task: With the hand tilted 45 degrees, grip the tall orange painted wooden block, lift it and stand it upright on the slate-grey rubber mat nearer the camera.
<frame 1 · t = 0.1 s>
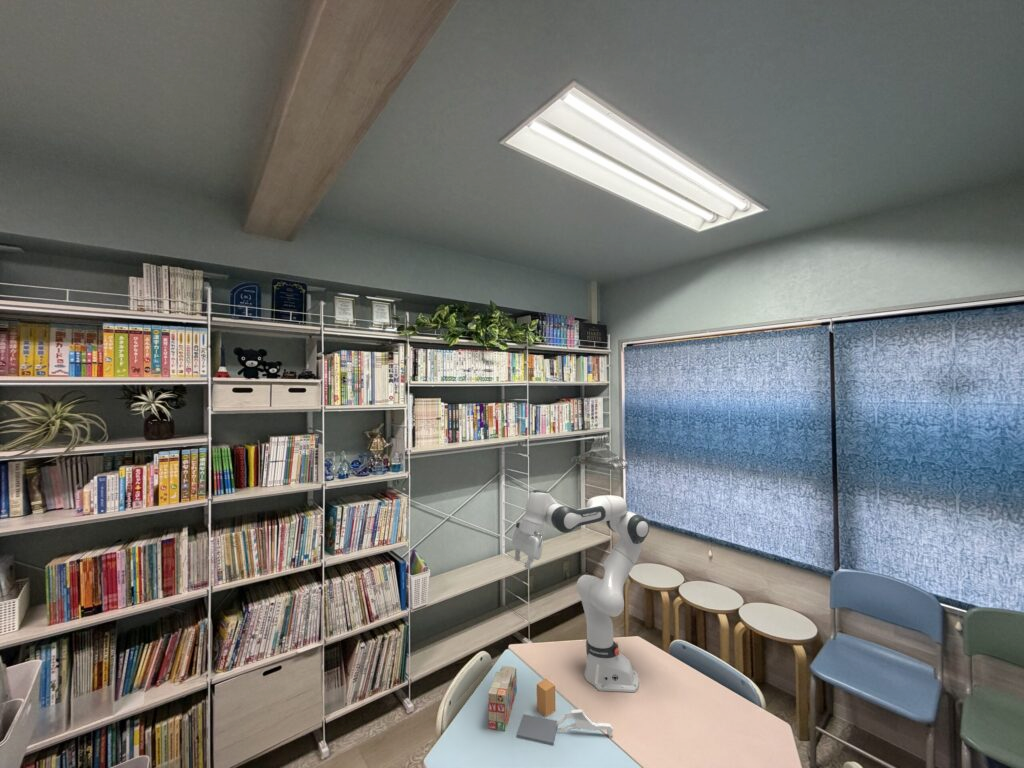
hand: (521, 564, 158), 52 cm above the table, tool tilted 20°, fingers open, 8 cm apart
slate mat: (537, 730, 139), on the table
stack of blocks: (503, 709, 150), on the table
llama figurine: (584, 734, 138), on the table
orange block: (546, 709, 149), on the table
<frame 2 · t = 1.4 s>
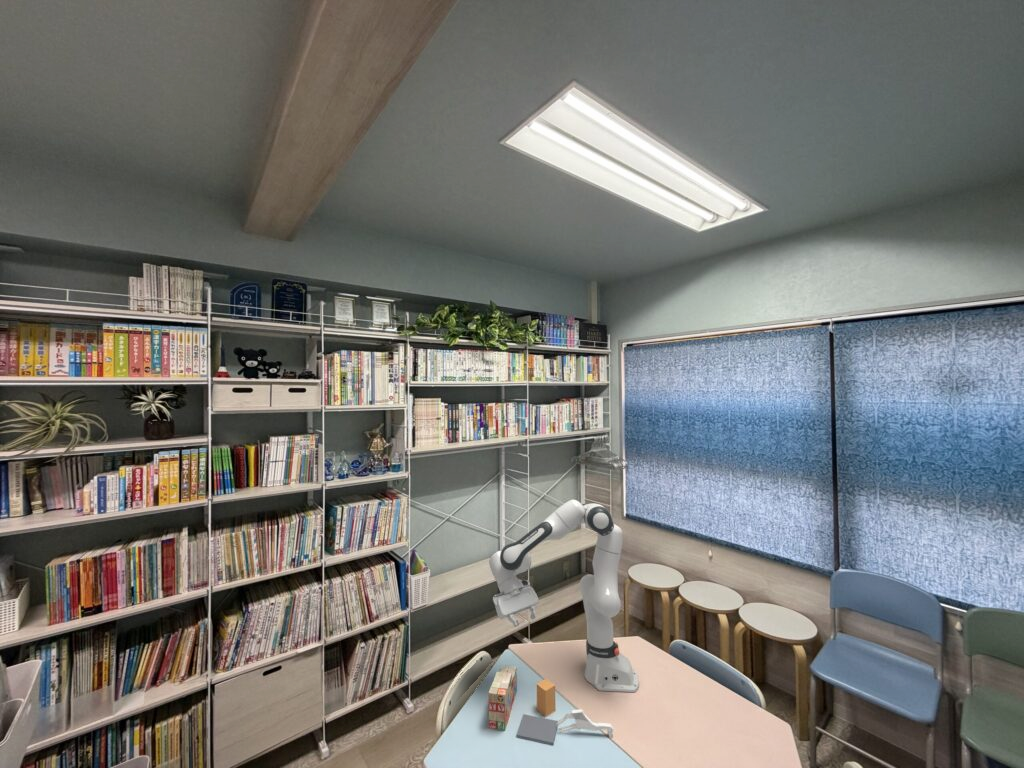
hand: (525, 622, 160), 27 cm above the table, tool tilted 45°, fingers open, 8 cm apart
nothing on the table moved.
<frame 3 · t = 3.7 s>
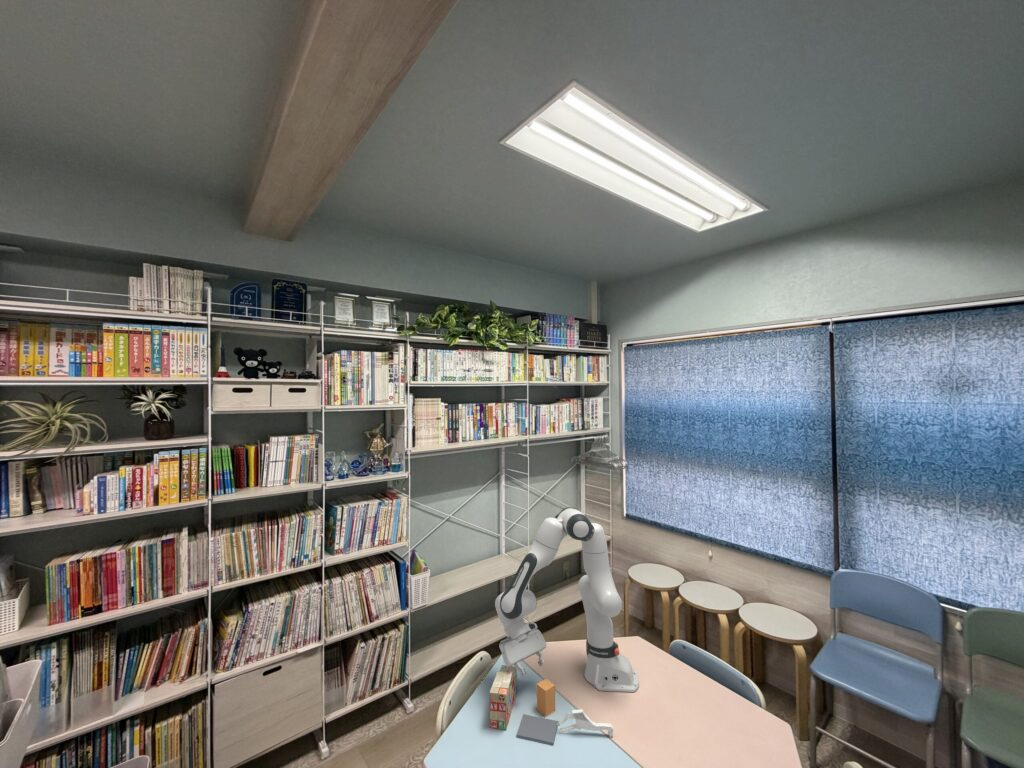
hand: (533, 669, 155), 11 cm above the table, tool tilted 45°, fingers open, 8 cm apart
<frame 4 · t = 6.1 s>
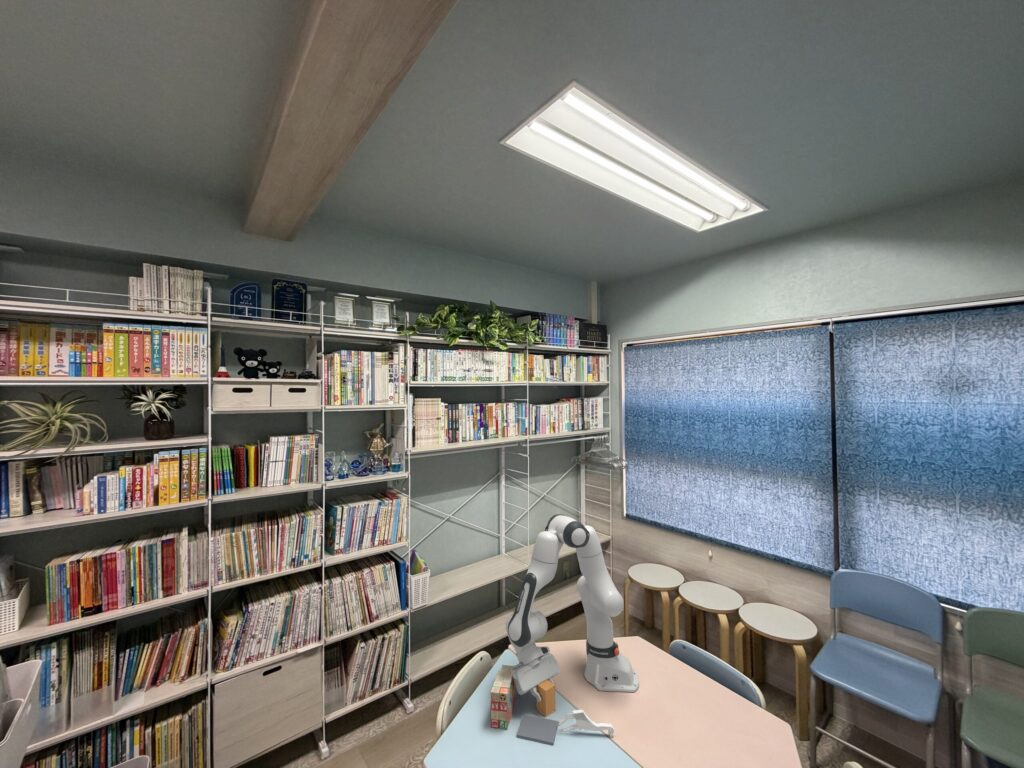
hand: (547, 697, 149), 5 cm above the table, tool tilted 45°, fingers closed on orange block, 5 cm apart
orange block: (546, 709, 149), on the table, touching gripper
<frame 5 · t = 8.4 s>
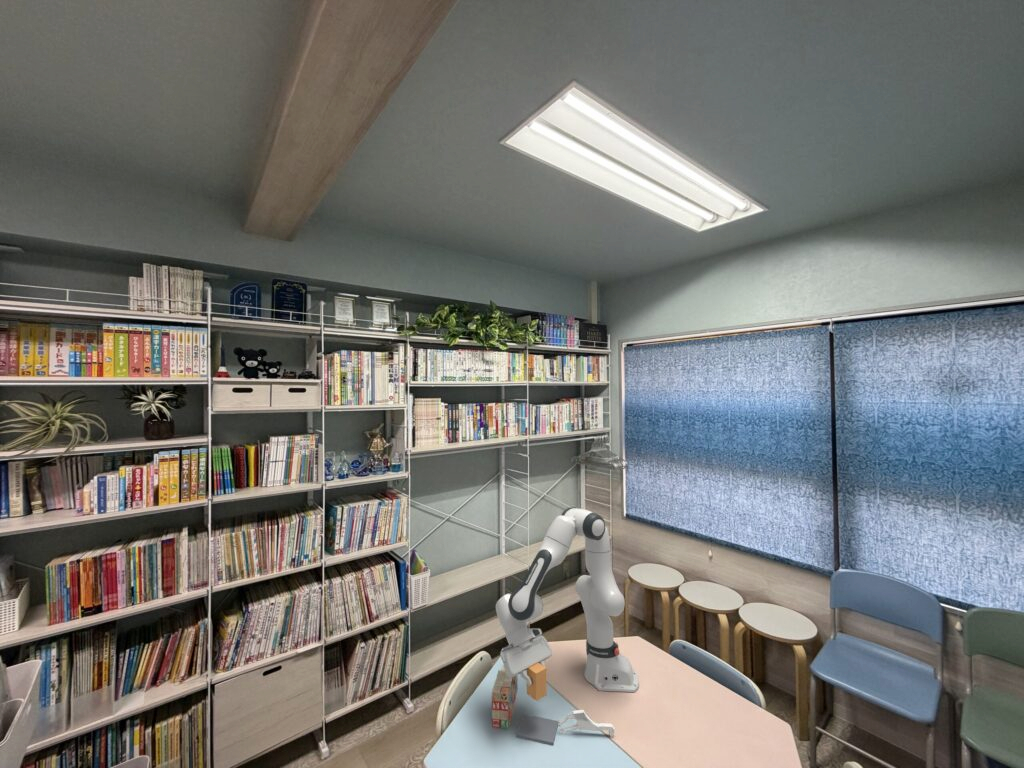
hand: (537, 680, 140), 17 cm above the table, tool tilted 45°, fingers closed on orange block, 5 cm apart
orange block: (536, 694, 140), point 12 cm above the table, touching gripper
when the fingers open (7 cm above the table, at t = 11.0 s): orange block drops 1 cm, resting on slate mat.
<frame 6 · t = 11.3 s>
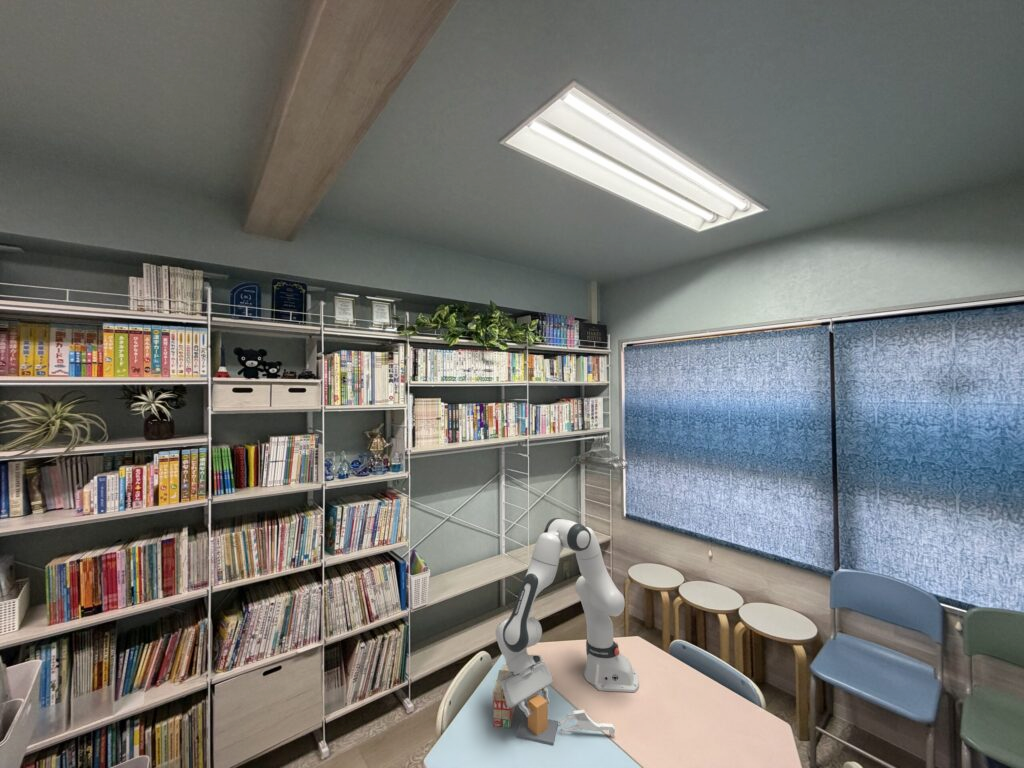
hand: (538, 709, 139), 7 cm above the table, tool tilted 45°, fingers open, 8 cm apart
orange block: (537, 727, 139), point 1 cm above the table, touching slate mat
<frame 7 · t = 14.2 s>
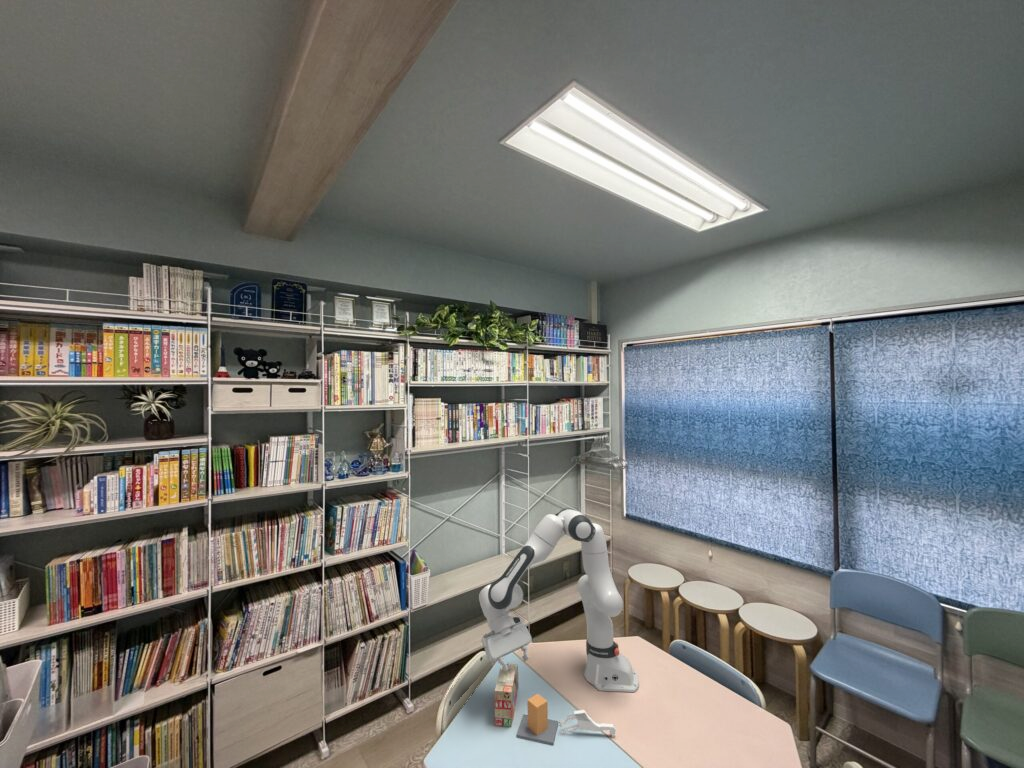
hand: (517, 664, 149), 17 cm above the table, tool tilted 45°, fingers open, 8 cm apart
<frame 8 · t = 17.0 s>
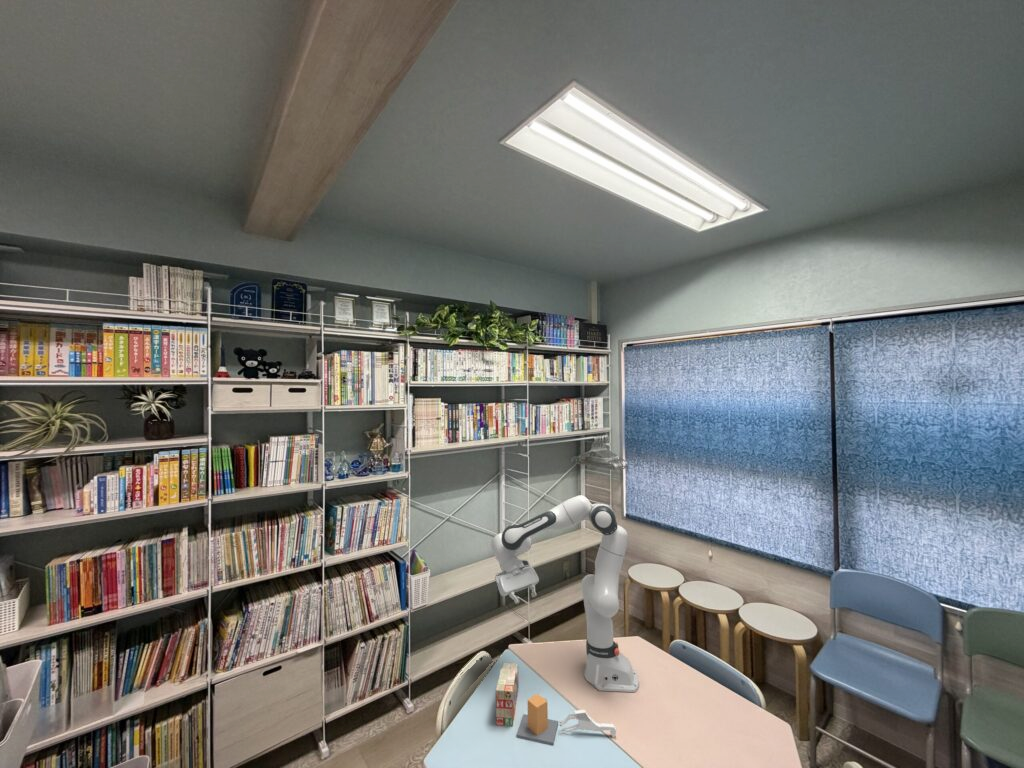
hand: (526, 599, 168), 33 cm above the table, tool tilted 45°, fingers open, 8 cm apart
at the end: orange block inside the target area on the slate mat (0.1 cm from its centre), point 0.8 cm above the slate mat's base; orange block tilted 0°; the gripper is holding nothing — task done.
